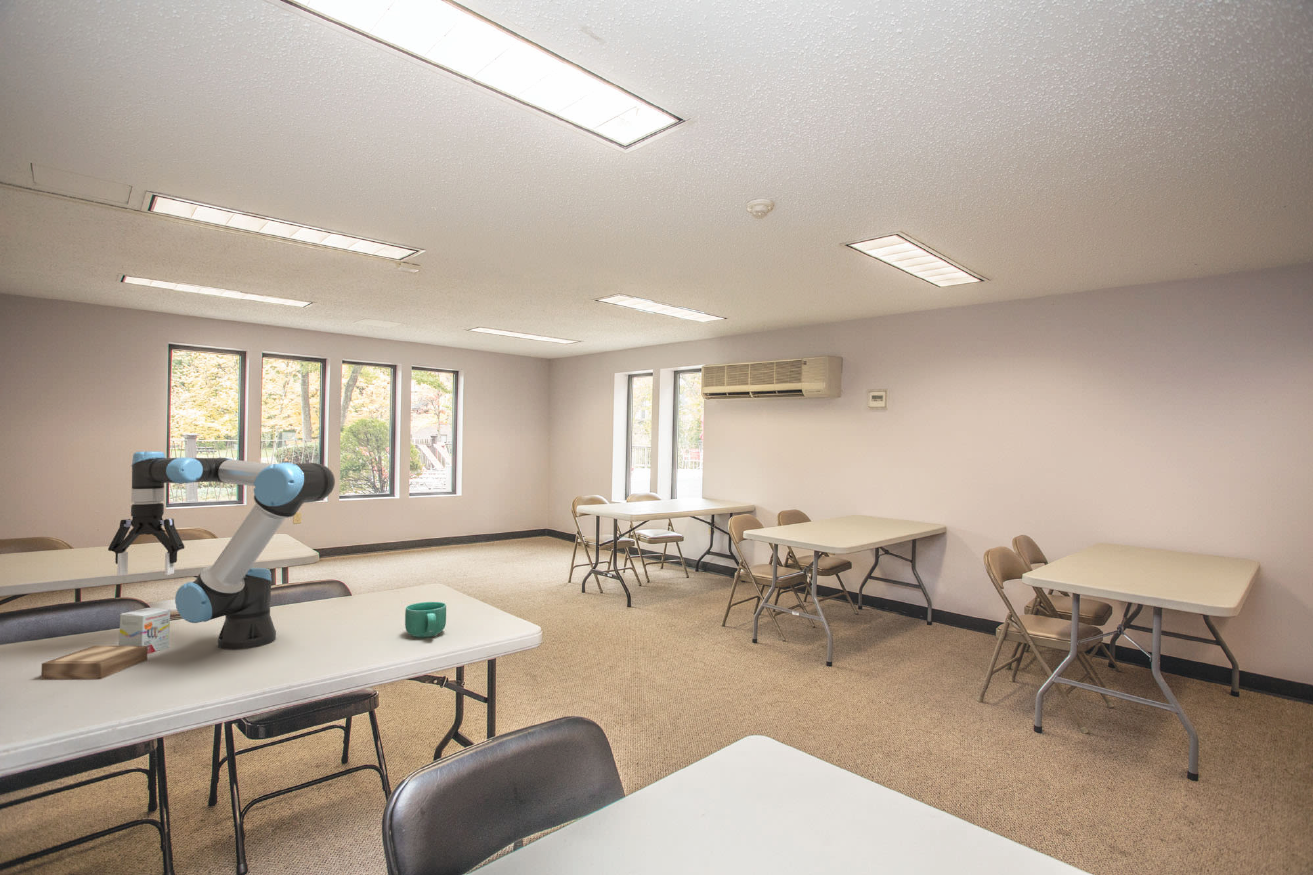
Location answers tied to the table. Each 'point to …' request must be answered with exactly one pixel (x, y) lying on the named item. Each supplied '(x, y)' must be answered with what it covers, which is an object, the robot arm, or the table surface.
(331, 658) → the table surface
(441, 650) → the table surface
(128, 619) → the ink box
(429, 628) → the mug
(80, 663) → the riser
